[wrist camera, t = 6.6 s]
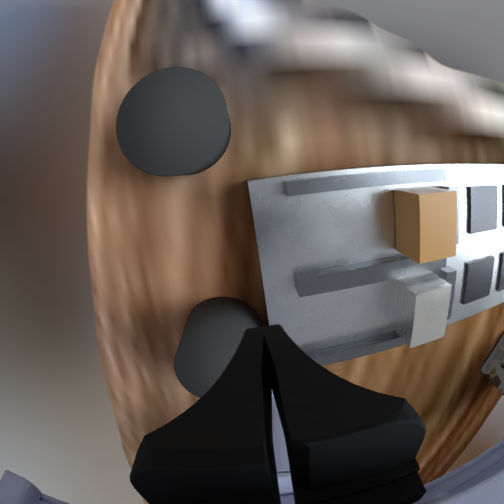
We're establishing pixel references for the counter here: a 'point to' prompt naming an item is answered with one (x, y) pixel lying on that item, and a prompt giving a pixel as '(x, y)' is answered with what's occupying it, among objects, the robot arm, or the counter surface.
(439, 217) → the toggle
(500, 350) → the coffee box
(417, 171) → the power strip
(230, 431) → the robot arm
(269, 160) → the counter surface
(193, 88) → the pair of grey cylinders
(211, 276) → the counter surface
